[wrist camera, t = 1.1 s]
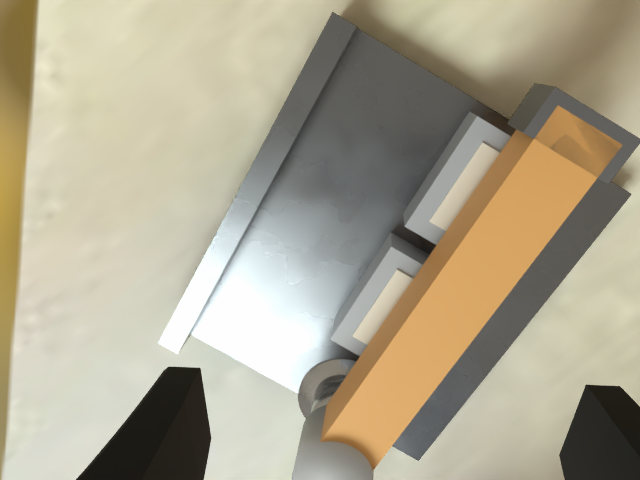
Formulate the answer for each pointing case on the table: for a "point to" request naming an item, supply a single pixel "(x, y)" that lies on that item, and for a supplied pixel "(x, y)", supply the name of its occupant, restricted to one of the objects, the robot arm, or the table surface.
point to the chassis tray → (352, 227)
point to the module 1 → (377, 293)
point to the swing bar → (464, 280)
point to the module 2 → (454, 177)
